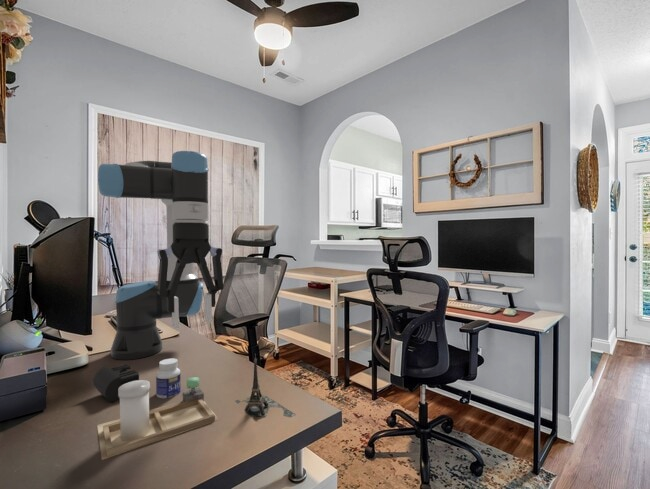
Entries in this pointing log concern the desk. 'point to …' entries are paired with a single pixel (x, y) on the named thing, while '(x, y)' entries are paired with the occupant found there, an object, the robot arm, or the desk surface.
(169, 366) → the pill bottle
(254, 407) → the eiffel tower figurine
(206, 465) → the desk surface
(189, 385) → the button
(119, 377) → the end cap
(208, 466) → the desk surface
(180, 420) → the wooden compartment tray
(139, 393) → the seated billet
